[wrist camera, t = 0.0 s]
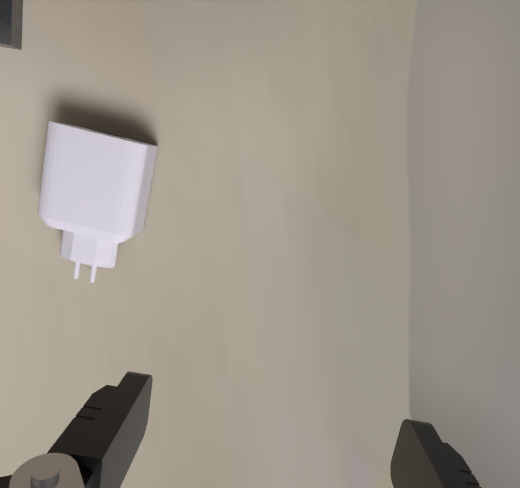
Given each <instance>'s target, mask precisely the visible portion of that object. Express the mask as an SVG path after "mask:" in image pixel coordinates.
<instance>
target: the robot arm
mask: <svg viewBox="0 0 520 488" xmlns="http://www.w3.org/2000/svg"><path fill="white" fill-rule="evenodd" d="M151 388H152V375H147V374H141V373H135V372H127V373H126V375H125V376H124V378H123V379H122V381H121V382H120V384H119V385H118V386H117V387H116V386H110V385H106V386H104V387H103V388H101V389H100V390H98V391H96V392H95V393H93V394H92V395H91V397H90V398H89V399H88V400H87V402H86V403H85V404H84V406H83V408H81V410H80V411H79V412H78V413H77V415H76V417H75V418H74V419H73V420H72V421H71V423H70V424H69V425H68V426H67V428H66V429H65V430H64V432H63V433H62V434H61V436H60V437H59V438H58V439H57V441H56V442H55V443H54V445H53V446H52V447H51V449H50V450H49V451H48V453H47V454H43V455H39V456H36V457H34V458H32V459H30V460H28V461H26V462H25V463H23V464H22V465H21V466H20V467H19V468H18V469H17V470H16V471H15V472H14V473H13V475H10V476H5V477H0V488H120V486H121V484H122V482H123V480H124V477H125V475H126V473H127V471H128V469H129V467H130V465H131V462H132V460H133V458H134V456H135V454H136V452H137V450H138V447H139V445H140V443H141V441H142V439H143V436H144V433H145V430H146V426H147V421H148V414H149V406H150V397H151ZM391 479H392V483H393V486H394V488H481V487H479V483H478V481H477V480H476V478H475V477H474V475H472V474H471V470H470V468H469V467H468V465H467V464H466V462H465V460H464V459H463V457H462V456H461V455H459V453H457V452H456V451H455V450H454V449H453V448H452V447H451V446H450V445H449V444H448V443H443V442H442V441H441V439H440V437H439V436H438V434H437V432H436V430H435V429H434V427H433V426H432V424H430V423H427V422H421V421H415V420H409V419H405V420H404V421H403V422H402V425H401V428H400V432H399V435H398V439H397V442H396V446H395V449H394V453H393V456H392V460H391Z"/></svg>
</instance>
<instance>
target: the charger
mask: <svg viewBox="0 0 520 488" xmlns="http://www.w3.org/2000/svg"><path fill="white" fill-rule="evenodd" d="M157 148H158V146H155V145H152V144H148V143H144V142H140V141H136V140H132V139H128V138H123V137H118V136H114V135H110V134H106V133H102V132H98V131H94V130H92V129H88V128H83V127H79V126H75V125H70V124H65V123H59V122H53V121H48V129H47V138H46V147H45V155H44V164H43V172H42V181H41V190H40V198H39V207H38V215H39V216H40V217H41V218H42V220H43V221H44V222H45V223H46V225H47V226H49V227H53V228H57V229H61V230H63V232H62V239H61V247H60V256H62V257H64V258H66V259H68V260H70V261H73V262H75V267H74V274H73V278H75V279H77V278H78V277H79V270H80V263H82V264H86V265H90V266H92V267H91V273H90V280H89V281H90V282H91V283H93V282H95V276H96V270H97V267H107V268H112V267H114V266H115V260H116V254H117V248H118V243H122V242H124V241H126V240H127V239H129V238H131V237H133V236H134V235H136V234H138V233H139V232H141V231H142V230H143V226H144V221H145V215H146V210H147V204H148V198H149V193H150V187H151V182H152V176H153V170H154V165H155V159H156V154H157Z"/></svg>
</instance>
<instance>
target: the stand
mask: <svg viewBox="0 0 520 488" xmlns="http://www.w3.org/2000/svg"><path fill="white" fill-rule="evenodd" d="M22 7H23V0H0V46H2V47H8V48H14V49H19V50H21V41H22Z"/></svg>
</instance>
